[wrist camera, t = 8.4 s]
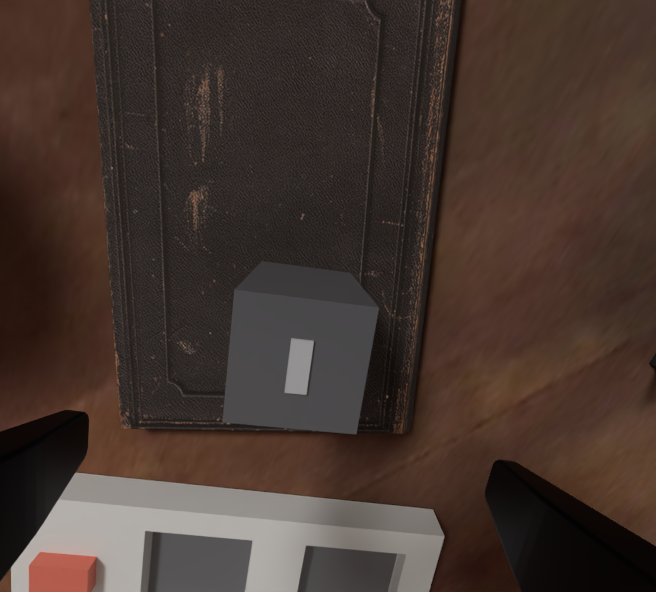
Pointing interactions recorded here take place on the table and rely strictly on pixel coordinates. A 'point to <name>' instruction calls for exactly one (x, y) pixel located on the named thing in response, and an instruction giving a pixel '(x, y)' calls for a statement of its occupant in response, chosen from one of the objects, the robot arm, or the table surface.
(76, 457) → the robot arm
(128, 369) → the hardcover book
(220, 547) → the power strip
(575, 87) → the table surface
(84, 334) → the table surface
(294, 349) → the block
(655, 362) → the handheld gaming console
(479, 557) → the table surface
